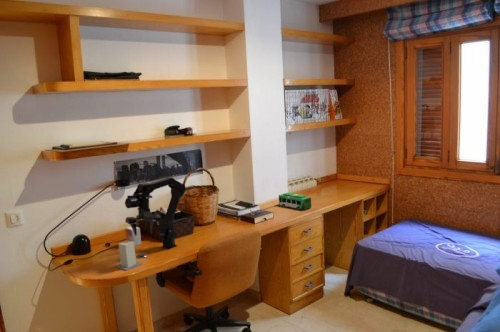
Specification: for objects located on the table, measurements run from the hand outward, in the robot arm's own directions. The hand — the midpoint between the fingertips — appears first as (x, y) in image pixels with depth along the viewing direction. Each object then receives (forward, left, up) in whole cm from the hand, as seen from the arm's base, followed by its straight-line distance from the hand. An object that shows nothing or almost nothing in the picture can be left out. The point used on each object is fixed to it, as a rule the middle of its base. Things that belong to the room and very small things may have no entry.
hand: (143, 234), depth 224 cm
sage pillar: (+13, +3, -12) cm, 18 cm away
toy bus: (-124, +18, -13) cm, 126 cm away
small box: (-9, -24, -13) cm, 29 cm away
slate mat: (+13, +3, -13) cm, 18 cm away
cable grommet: (+1, -2, -13) cm, 13 cm away
